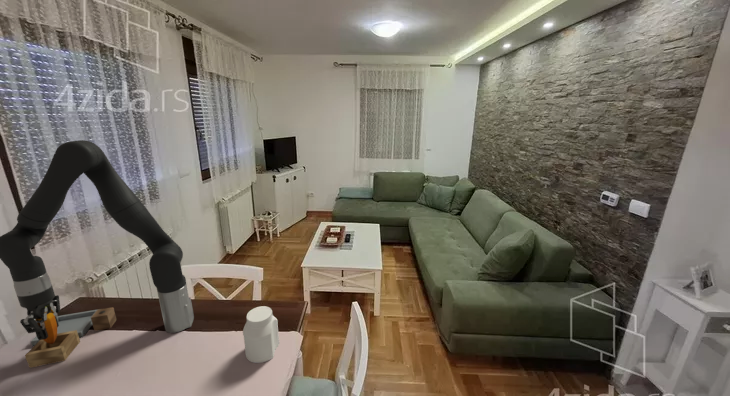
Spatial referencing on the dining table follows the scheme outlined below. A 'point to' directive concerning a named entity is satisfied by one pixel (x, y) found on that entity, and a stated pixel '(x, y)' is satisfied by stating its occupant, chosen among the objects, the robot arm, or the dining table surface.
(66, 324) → the tray
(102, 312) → the walnut block
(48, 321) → the carrot
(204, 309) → the dining table surface
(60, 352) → the wooden crate
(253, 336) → the jar
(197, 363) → the dining table surface
